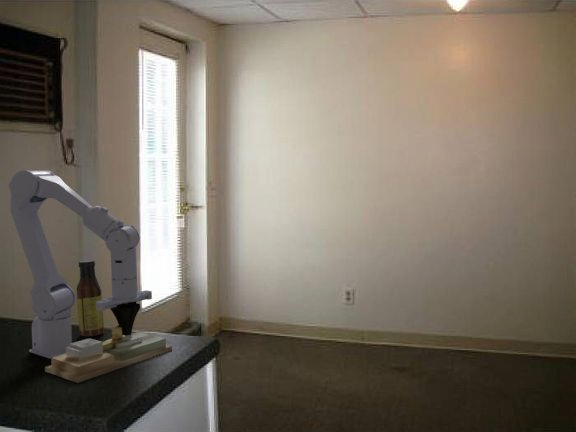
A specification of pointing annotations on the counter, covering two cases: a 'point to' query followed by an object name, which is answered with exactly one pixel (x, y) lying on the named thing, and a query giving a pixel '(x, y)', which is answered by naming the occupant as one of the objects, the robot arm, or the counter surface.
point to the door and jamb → (108, 359)
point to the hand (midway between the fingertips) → (126, 334)
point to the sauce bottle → (89, 301)
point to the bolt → (114, 337)
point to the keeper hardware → (95, 347)
